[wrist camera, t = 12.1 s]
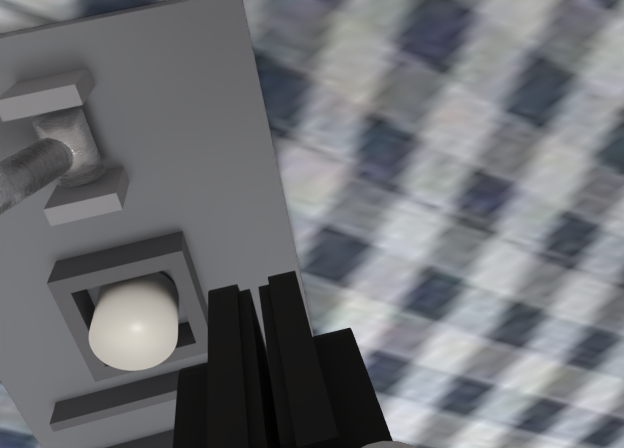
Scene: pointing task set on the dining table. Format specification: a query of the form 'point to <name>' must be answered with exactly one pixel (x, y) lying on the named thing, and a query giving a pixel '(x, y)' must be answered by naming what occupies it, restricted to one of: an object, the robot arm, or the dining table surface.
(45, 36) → the control panel
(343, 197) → the dining table surface
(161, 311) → the push button
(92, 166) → the toggle lever
